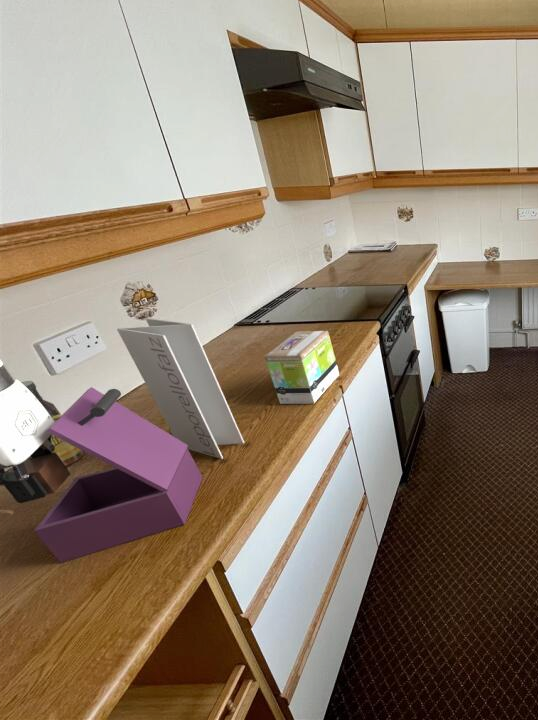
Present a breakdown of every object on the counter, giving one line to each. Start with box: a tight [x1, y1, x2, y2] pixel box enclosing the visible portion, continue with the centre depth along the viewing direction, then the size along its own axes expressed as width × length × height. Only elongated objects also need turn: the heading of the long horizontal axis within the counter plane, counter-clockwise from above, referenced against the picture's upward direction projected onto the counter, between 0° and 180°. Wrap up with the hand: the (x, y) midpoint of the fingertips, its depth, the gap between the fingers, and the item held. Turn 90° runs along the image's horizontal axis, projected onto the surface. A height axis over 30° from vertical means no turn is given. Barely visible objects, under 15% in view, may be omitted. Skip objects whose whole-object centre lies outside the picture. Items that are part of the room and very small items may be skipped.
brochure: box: [116, 317, 245, 460], centre depth 87 cm, size 14×6×30 cm, turn 70°
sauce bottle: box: [20, 380, 83, 467], centre depth 87 cm, size 6×6×20 cm
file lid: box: [46, 386, 188, 492], centre depth 70 cm, size 18×13×5 cm
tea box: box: [264, 330, 340, 405], centre depth 110 cm, size 15×10×15 cm
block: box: [5, 453, 71, 500], centre depth 62 cm, size 4×4×4 cm
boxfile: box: [34, 449, 203, 564], centre depth 74 cm, size 18×13×8 cm
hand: (43, 485), depth 63 cm, fingers closed on block, 4 cm apart
